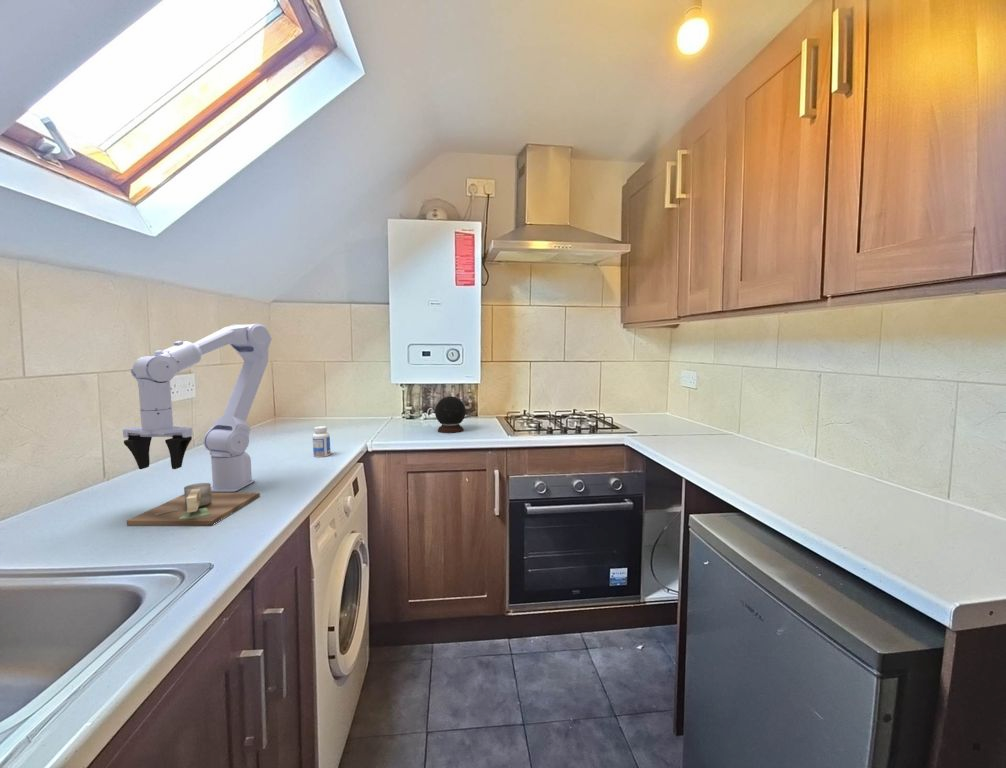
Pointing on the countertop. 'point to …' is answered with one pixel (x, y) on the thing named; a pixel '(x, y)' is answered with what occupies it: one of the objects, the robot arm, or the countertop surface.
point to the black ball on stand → (450, 414)
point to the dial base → (205, 515)
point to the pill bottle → (321, 442)
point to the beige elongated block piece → (197, 496)
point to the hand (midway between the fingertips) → (160, 468)
